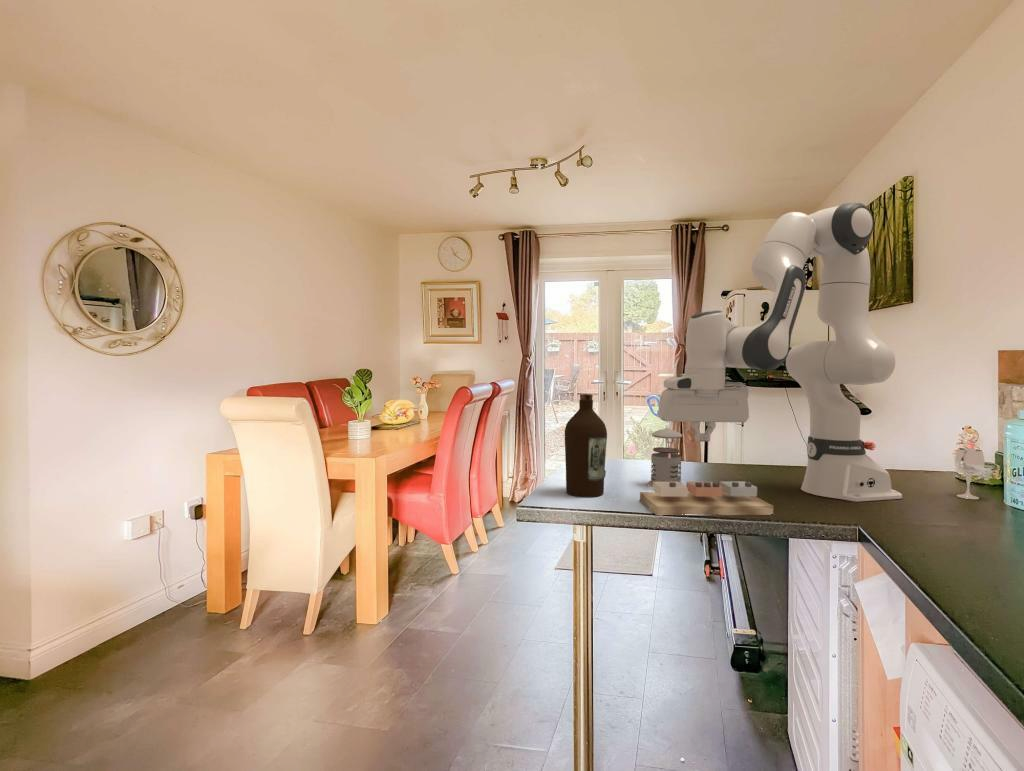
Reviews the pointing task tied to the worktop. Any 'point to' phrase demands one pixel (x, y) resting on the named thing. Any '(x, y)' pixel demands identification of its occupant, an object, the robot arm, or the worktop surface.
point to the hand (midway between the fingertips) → (702, 441)
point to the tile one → (670, 489)
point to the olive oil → (585, 451)
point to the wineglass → (969, 466)
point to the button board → (705, 504)
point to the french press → (665, 459)
